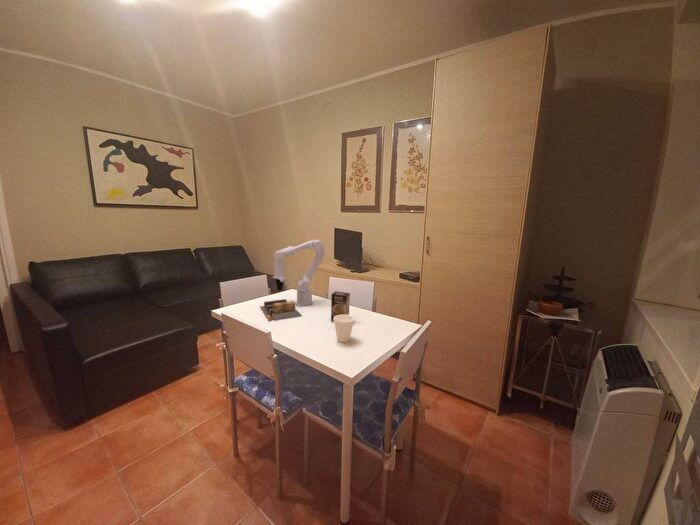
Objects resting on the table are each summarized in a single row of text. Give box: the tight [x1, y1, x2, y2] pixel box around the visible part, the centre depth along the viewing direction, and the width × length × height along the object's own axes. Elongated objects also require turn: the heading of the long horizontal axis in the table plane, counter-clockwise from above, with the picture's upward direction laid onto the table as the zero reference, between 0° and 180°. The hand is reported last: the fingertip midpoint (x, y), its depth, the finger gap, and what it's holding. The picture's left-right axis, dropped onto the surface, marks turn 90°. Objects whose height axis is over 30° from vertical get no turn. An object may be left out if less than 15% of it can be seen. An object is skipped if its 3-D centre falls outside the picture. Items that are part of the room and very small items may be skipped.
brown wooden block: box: [273, 300, 296, 313], centre depth 162 cm, size 12×4×7 cm, turn 118°
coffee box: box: [330, 290, 351, 322], centre depth 156 cm, size 9×6×16 cm
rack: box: [259, 298, 302, 322], centre depth 168 cm, size 19×25×3 cm
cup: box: [333, 314, 355, 343], centre depth 133 cm, size 10×10×11 cm
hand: (279, 290), depth 179 cm, fingers closed
